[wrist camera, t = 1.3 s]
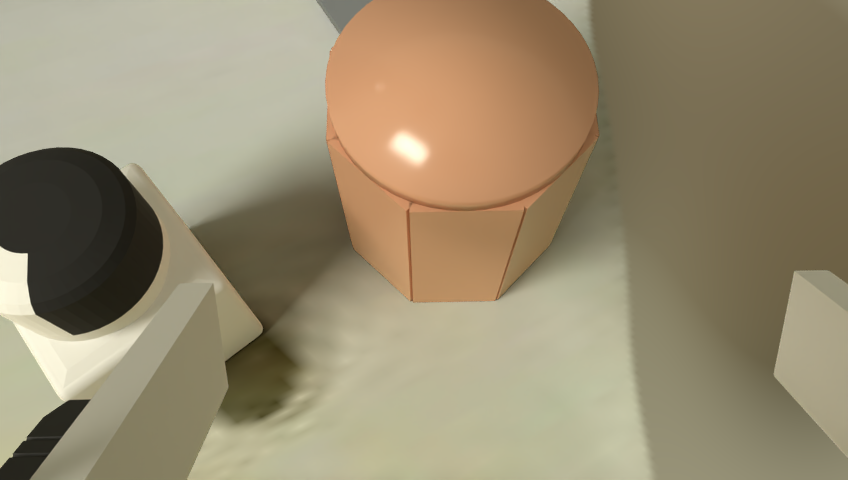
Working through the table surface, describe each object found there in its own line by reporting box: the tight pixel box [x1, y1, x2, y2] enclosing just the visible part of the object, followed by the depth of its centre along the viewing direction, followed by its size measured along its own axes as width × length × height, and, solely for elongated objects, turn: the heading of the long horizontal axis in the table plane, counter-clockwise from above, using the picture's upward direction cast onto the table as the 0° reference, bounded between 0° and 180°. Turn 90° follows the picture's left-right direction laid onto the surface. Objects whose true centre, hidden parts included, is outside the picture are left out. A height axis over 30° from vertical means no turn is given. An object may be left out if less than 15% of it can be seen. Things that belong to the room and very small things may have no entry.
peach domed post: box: [325, 0, 599, 302], centre depth 30 cm, size 10×10×11 cm
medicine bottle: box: [0, 147, 263, 402], centre depth 27 cm, size 7×7×12 cm
